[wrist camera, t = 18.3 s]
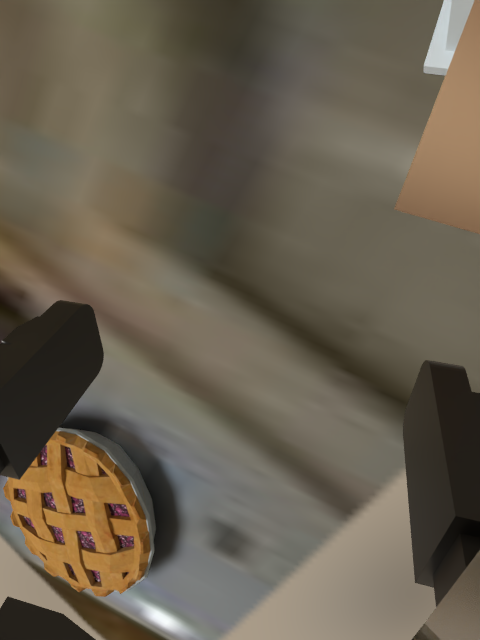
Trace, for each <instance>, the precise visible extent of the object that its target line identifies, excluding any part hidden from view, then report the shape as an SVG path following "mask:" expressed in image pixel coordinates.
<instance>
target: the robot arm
mask: <svg viewBox="0 0 480 640" xmlns="http://www.w3.org/2000/svg"><path fill="white" fill-rule="evenodd" d="M103 356H104V353H103V347H102V343H101V339H100V335H99V331H98V326H97V322H96V318H95V314H94V310H93V308H92V307H91V306H90V305H88V304H81V303H75V302H69V301H63V300H60V301H57V302H55V303H54V304H53V305H52V306H51V307H50V308H49V309H48V310H47V311H46V312H44V313H43V314H42V315H41V316H40V317H38V316H37V317H35V318H34V319H32V320H30V321H28V322H26V323H24V324H22V325H20V326H18V327H17V328H16V329H14V330H13V331H12V332H11V333H10V334H9V335H8V336H7V337H6V338H4V339H3V340H2V343H1V344H0V475H2V476H6V477H10V478H14V479H18V480H20V479H21V477H22V476H23V475H24V473H25V472H26V471H27V469H28V468H29V467H30V465H31V464H32V462H33V461H34V460H35V458H36V457H37V456H38V454H39V453H40V452H41V450H42V449H43V448H44V446H45V445H46V444H47V442H48V441H49V440H50V438H51V437H52V436H53V434H54V433H55V431H56V430H57V429H58V427H59V426H60V425H61V423H62V422H63V421H64V419H65V418H66V417H67V415H68V414H69V413H70V411H71V410H72V409H73V407H74V406H75V405H76V403H77V402H78V400H79V399H80V398H81V396H82V395H83V394H84V392H85V391H86V390H87V388H88V387H89V386H90V384H91V383H92V382H93V380H94V379H95V378H96V376H97V375H98V373H99V371H100V369H101V367H102V363H103ZM403 438H404V451H405V463H406V476H407V488H408V500H409V513H410V525H411V538H412V550H413V562H414V575H415V583H418V584H422V585H426V586H430V587H434V591H435V600H436V609H435V610H434V611H433V613H432V614H431V615H430V617H429V618H428V620H427V621H426V622H425V623H424V625H423V626H422V627H421V629H420V630H419V631H418V632H417V634H416V635H415V636H414V638H413V639H412V640H480V393H475V392H471V388H470V385H469V381H468V377H467V373H466V370H465V368H464V367H463V366H459V365H453V364H447V363H441V362H435V361H428V360H426V361H424V363H423V364H422V367H421V369H420V372H419V375H418V377H417V380H416V383H415V386H414V388H413V391H412V394H411V396H410V399H409V402H408V405H407V408H406V411H405V416H404V424H403ZM0 640H95V639H94V638H93V637H92V636H90V635H89V634H88V633H86V632H85V631H84V630H83V629H81V628H80V627H79V626H78V625H76V624H75V623H74V622H72V621H71V620H70V619H68V618H67V617H66V616H65V615H64V614H61V613H58V612H55V611H52V610H49V609H45V608H42V607H39V606H36V605H33V604H30V603H26V602H23V601H20V600H17V599H14V598H10V597H7V598H6V600H5V602H4V603H3V605H2V606H1V608H0Z"/></svg>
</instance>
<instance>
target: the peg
mask: <svg viewBox="0 0 480 640" xmlns="http://www.w3.org/2000/svg"><path fill="white" fill-rule="evenodd" d="M394 209H395V210H398V211H402V212H405V213H409V214H412V215H416V216H419V217H422V218H426V219H429V220H433V221H436V222H440V223H443V224H447V225H450V226H454V227H457V228H461V229H464V230H468V231H471V232H475V233H478V234H480V0H474V3H473V6H472V8H471V11H470V13H469V16H468V19H467V21H466V24H465V26H464V29H463V32H462V34H461V37H460V39H459V42H458V45H457V47H456V50H455V52H454V55H453V58H452V60H451V63H450V65H449V68H448V71H447V73H446V76H445V78H444V81H443V84H442V86H441V89H440V91H439V94H438V97H437V99H436V102H435V104H434V107H433V110H432V112H431V115H430V117H429V120H428V123H427V125H426V128H425V130H424V133H423V136H422V138H421V141H420V143H419V146H418V149H417V151H416V154H415V156H414V159H413V162H412V164H411V167H410V169H409V172H408V175H407V177H406V180H405V182H404V185H403V188H402V190H401V193H400V195H399V198H398V201H397V203H396V206H395V208H394Z"/></svg>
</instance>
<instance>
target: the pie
mask: <svg viewBox="0 0 480 640" xmlns="http://www.w3.org/2000/svg"><path fill="white" fill-rule="evenodd" d="M3 489H4V493H5V497H6V498H7V499H8V500H9V501H11V505H12V509H13V512H12V514H11V516H10V517H11V520H12V523H13V525H14V526H17V527H20V529H21V530H22V532H23V534H24V536H25V544H26V546H27V547H28V548H29V550H30V551H31V552H32V554H34V555H37V556H39V558H40V559H41V560H42V561H43V562H44V567H45V568H44V569H45V570H46V571H47V572H49V573H50V574H51V575H52V576H53V577H55V576H61V577H62V578H64V579H66V580H67V581H68V582H69V583H70V584H71V587H73V588H74V589H76V590H77V591H78V592H81V591H82V590H84V589H86V588H88V589H91V590H92V591H93V592H94V594H95V596H104V597H106V596H107V595H109V594H110V593H112V592H120V594H121V593H123V592H124V591H128V590H130V589H131V588H132V587H134V586H135V585H137V584H138V583H140V582H141V581H142V580H144V579H145V578H147V576H148V572H149V568H150V565H151V561H152V558H153V554H154V551H155V550H154V542H153V540H154V536H155V531H156V524H155V517H154V510H153V503H152V498H151V496H150V493H149V491H148V489H147V487H146V485H145V482H144V480H143V478H142V476H141V474H140V471H139V469H138V468H137V466H136V465H135V464H134V463H133V461H132V460H131V459H130V458H129V456H128V455H127V454H126V453H125V451H124V450H123V449H122V448H121V446H120V445H118V444H117V443H115V442H113V441H111V440H109V439H107V438H106V437H104V436H102V435H100V434H98V433H96V432H91V431H84V430H78V429H71V428H68V429H65V428H58V429H57V430H56V431H55V433H54V434H53V436H52V437H51V438H50V440H49V441H48V442H47V444H46V445H45V446H44V448H43V449H42V450H41V452H40V453H39V454H38V456H37V457H36V458H35V460H34V461H33V462H32V464H31V465H30V467H29V468H28V469H27V471H26V472H25V473H24V475H23V476H22V477H21V479H20V480H18V479H14V478H10V477H7V483H6V484H5V486H4V488H3Z"/></svg>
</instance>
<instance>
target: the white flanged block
mask: <svg viewBox="0 0 480 640" xmlns="http://www.w3.org/2000/svg"><path fill="white" fill-rule="evenodd" d="M473 3H474V0H444V2H443V6H442V9H441V12H440V15H439V19H438V22H437V25H436V28H435V31H434V35H433V38H432V41H431V44H430V47H429V51H428V54H427V57H426V60H425V64H424V73H429V74H437V75H445V76H446V73H447V71H448V68H449V65H450V63H451V60H452V58H453V55H454V52H455V50H456V47H457V45H458V42H459V39H460V37H461V34H462V32H463V29H464V26H465V24H466V21H467V19H468V16H469V13H470V11H471V8H472V6H473Z"/></svg>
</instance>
